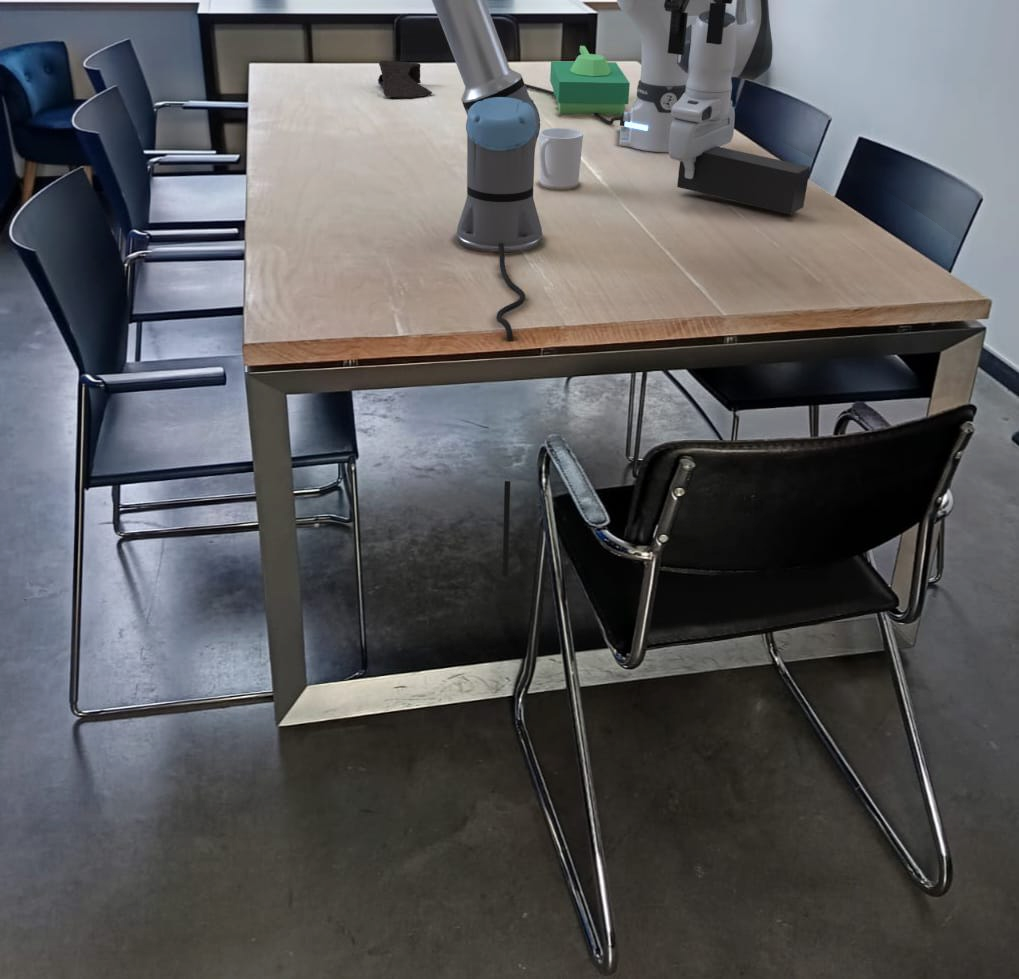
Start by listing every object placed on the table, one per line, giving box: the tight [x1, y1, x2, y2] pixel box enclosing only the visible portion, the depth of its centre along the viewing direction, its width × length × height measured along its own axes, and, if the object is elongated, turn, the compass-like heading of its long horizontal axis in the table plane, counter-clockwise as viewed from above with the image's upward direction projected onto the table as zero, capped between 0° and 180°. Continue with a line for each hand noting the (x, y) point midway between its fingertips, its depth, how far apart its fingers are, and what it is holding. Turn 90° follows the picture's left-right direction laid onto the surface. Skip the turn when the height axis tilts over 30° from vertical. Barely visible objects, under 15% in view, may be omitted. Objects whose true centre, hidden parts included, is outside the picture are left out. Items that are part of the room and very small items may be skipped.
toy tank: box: [549, 45, 631, 116], centre depth 289 cm, size 18×12×35 cm
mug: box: [538, 127, 584, 190], centre depth 223 cm, size 11×9×10 cm
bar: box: [676, 146, 811, 215], centre depth 215 cm, size 25×6×8 cm, turn 52°
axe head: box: [377, 59, 433, 99], centre depth 299 cm, size 18×8×15 cm
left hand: (695, 48), depth 189 cm, fingers open, 13 cm apart
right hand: (698, 173), depth 220 cm, fingers closed on bar, 5 cm apart
